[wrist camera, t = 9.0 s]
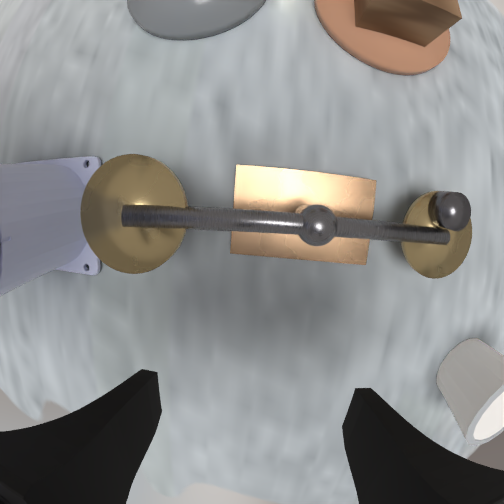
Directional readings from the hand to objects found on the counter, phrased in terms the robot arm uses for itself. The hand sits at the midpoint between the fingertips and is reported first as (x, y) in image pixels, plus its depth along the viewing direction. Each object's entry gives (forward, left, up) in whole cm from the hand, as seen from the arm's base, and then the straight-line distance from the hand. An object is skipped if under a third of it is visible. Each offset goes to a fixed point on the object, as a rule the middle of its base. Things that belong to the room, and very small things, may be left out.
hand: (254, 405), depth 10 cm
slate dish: (-6, +22, -9) cm, 25 cm away
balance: (+2, +6, -9) cm, 11 cm away
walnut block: (+7, +21, -8) cm, 24 cm away
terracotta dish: (+7, +21, -9) cm, 24 cm away
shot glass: (+18, -5, -10) cm, 21 cm away
